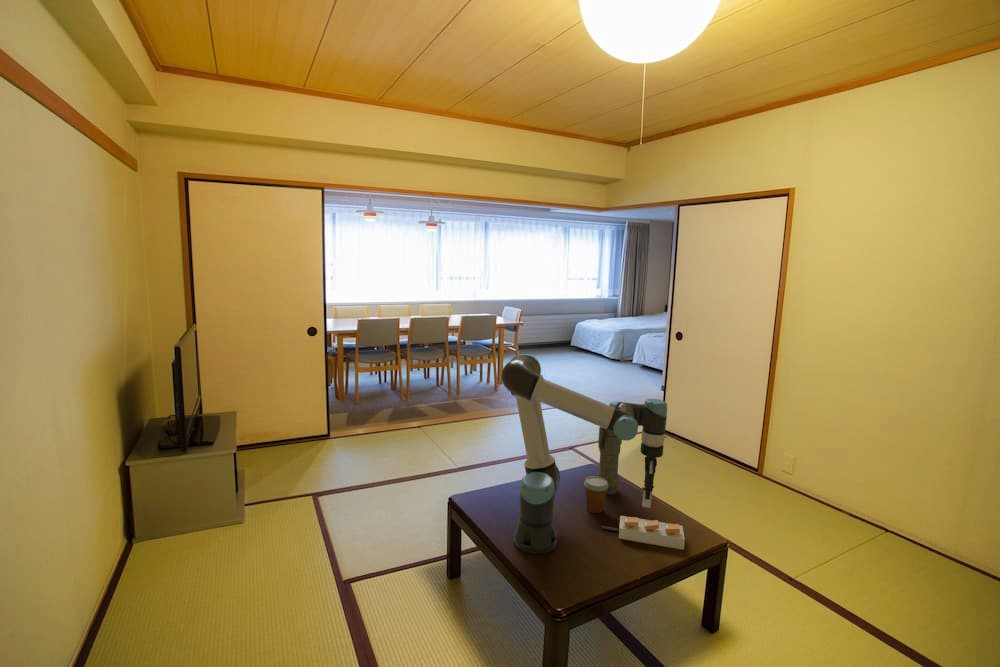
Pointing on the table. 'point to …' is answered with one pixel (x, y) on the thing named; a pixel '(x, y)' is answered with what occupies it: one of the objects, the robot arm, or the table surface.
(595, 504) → the disposable coffee cup
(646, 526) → the orange block
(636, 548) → the table surface
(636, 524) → the orange block
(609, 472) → the stone tower
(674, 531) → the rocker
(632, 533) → the power strip
